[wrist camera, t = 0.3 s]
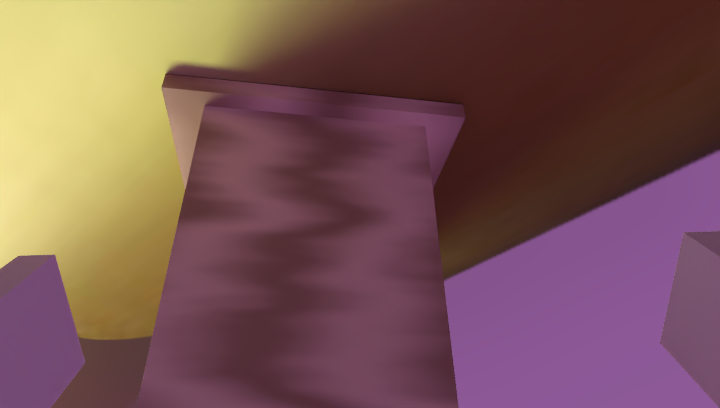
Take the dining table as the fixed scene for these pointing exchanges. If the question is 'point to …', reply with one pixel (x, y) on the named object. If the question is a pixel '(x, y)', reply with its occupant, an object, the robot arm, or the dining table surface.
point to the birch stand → (303, 251)
